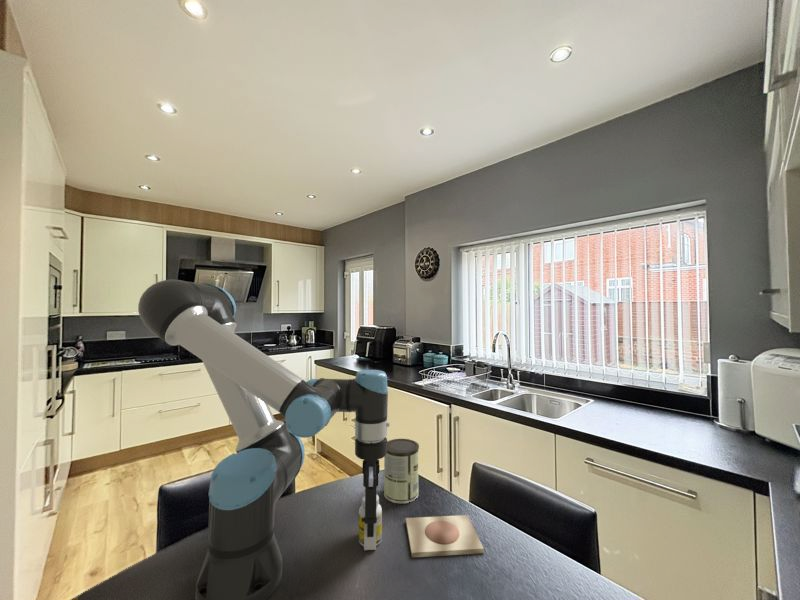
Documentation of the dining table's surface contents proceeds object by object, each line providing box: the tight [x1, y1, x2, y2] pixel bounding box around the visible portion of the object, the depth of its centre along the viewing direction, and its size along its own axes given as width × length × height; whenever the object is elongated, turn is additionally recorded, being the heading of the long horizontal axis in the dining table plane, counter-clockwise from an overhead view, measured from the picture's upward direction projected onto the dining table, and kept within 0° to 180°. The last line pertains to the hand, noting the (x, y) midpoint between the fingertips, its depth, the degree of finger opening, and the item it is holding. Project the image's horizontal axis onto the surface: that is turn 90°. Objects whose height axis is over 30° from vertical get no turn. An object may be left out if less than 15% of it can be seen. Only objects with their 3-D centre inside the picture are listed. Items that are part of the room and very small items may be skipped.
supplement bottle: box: [358, 493, 383, 547], centre depth 75 cm, size 5×5×10 cm
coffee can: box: [383, 438, 420, 505], centre depth 95 cm, size 10×10×14 cm
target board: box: [405, 514, 485, 558], centre depth 77 cm, size 16×12×1 cm
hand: (370, 538), depth 75 cm, fingers closed on supplement bottle, 5 cm apart
